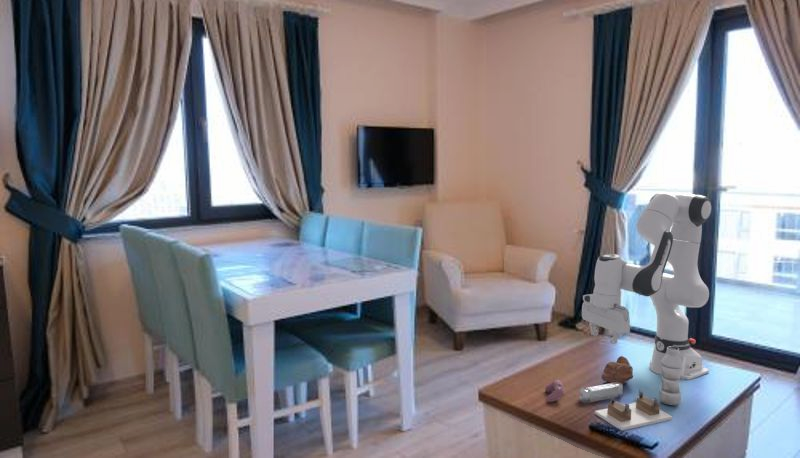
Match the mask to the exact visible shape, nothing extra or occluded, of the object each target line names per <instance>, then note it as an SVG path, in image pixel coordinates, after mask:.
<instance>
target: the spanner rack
mask: <svg viewBox="0 0 800 458" xmlns="http://www.w3.org/2000/svg"><path fill="white" fill-rule="evenodd" d="M615 398H616V397H615V396H611V398H610V402H609V403H607V408H602V409H598V410H594V414H595V415H596V416H598V417H599V418H601V419H603V420H604V421H605V422H608V423H609V424H610V425H612V426H613V427H615V428H617V429H618V428H619V429H618V430H620V429H621V430H622V431H626V430H630V429H635V428H640V427H645V426H649V425H654V424H658V423H662V422H667V421H670V420H671V421H672V420H673V419H674V418H673V416H672V415H670V414H668V413H667V412H665V411H663V410H662V409H661V408H660V407H661V403H659V398H657V397H654V398H653V399H652V398H651V397H648V396H646V395H645V396H644V391H643V390H641V389H639V390H638V397H636V398H635V399H636V400H635V401H636V402H633V403H625V404H623V403H621V402H619V401H615ZM621 430H620V431H621Z"/></svg>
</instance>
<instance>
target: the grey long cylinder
mask: <svg viewBox="0 0 800 458" xmlns="http://www.w3.org/2000/svg"><path fill="white" fill-rule="evenodd" d="M623 386H624V384H621V383H618V382H613V383H605V384H600V385H595V386H587V387H581V388H580V389H579V402H581V403H584V404H590V403H595V402H599V401H603V400H609V399H610V400H611V396H615V398H622V397H623V388H624V387H623Z"/></svg>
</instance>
